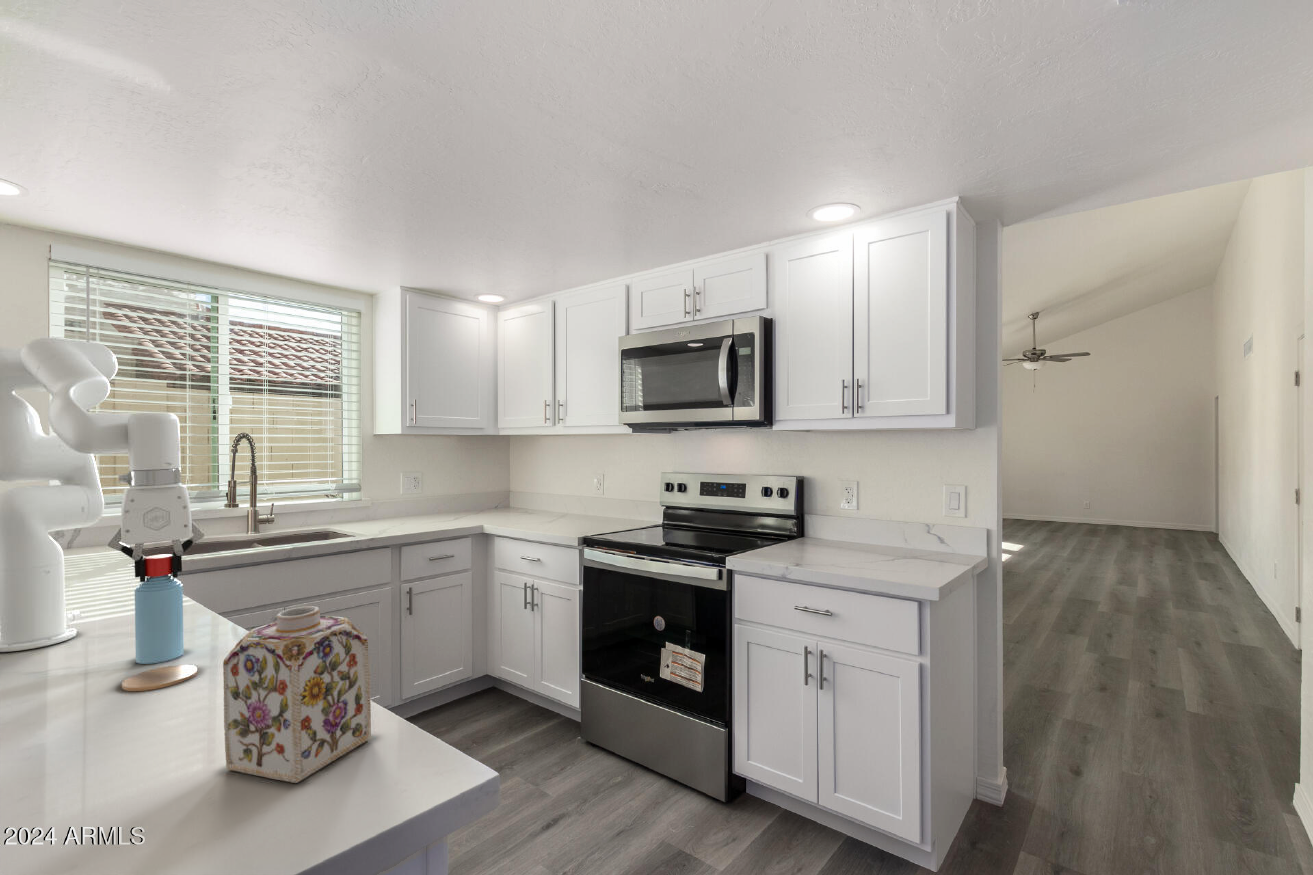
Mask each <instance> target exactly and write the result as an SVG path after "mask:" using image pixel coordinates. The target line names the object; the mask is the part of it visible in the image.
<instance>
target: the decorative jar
mask: <svg viewBox="0 0 1313 875" xmlns="http://www.w3.org/2000/svg"><path fill="white" fill-rule="evenodd" d="M369 654H370V653H369V640H368V638H367V636H365V635H364V633H363V632H362V631H361V629H358V627H357V626H356V625H355V624H354V623H352V622H351V621H350V620H349V619H348V618H347V617H343V616H334V615H321V612H320V608H319V607H318V606H315V605H306V606H298V607H297V606H296V607H293V608H289V609H284V610H282V611H280V612H278V613H277V614H276V621H275V622H271V623H268V624H264V625H260V626H258V627H255V628H253V629H250V630H249V631H248V632H247V633H246V634H245V635H244V636H243V637H242V638H241V639H240V640H239V641H238V642H237V643H236V644H235V646H234V647H233V648H232V649H231V650H230V652H229V653H228V655H226V657H225V658H224V659H223V662H222V669H223V670H222V673H223V674H222V675H223V677H222V678H223V730H224V733H223V734H224V753H225V769H226V770H227V771H234V772H239V773H243V774H247V775H253V776H257V777H262V778H266V779H270V780H275V781H276V780H277V781H282V782H289V783H292V784H297V783H299V782H301V781H303V780H305V779H307V778H308V777H309V776H311V775H313V774H315V773H316V772H318V771H319V770H321V769H323V768H324V767H326V766H328V765H330V764H331V763H333V762H334V761H336V760H337V759H339V758H341V757H343V756H344V755H347V753H349V752H351V751H352V750H355V749H356V748H358V747H359V746H361V745H362V744H364V743H366V742H368V741H369V740H370V738H371V736H372V709H371V707H372V706H371V705H372V704H371V703H372V701H371V681H370V680H371V679H370V656H369Z"/></svg>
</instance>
